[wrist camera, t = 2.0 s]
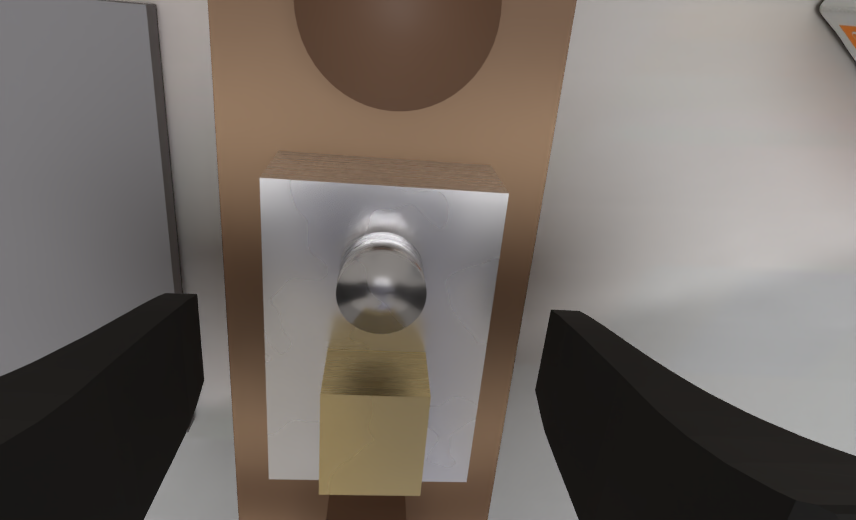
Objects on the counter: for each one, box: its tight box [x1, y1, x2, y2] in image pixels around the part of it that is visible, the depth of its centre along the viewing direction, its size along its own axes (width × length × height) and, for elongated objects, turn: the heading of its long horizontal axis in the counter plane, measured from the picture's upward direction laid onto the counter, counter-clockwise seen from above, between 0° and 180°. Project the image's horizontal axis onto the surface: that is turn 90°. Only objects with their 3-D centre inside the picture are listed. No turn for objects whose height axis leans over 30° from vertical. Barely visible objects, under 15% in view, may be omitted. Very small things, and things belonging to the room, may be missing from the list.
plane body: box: [208, 0, 577, 520], centre depth 13 cm, size 16×7×7 cm, turn 175°
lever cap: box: [260, 151, 509, 496], centre depth 12 cm, size 7×4×4 cm, turn 175°
